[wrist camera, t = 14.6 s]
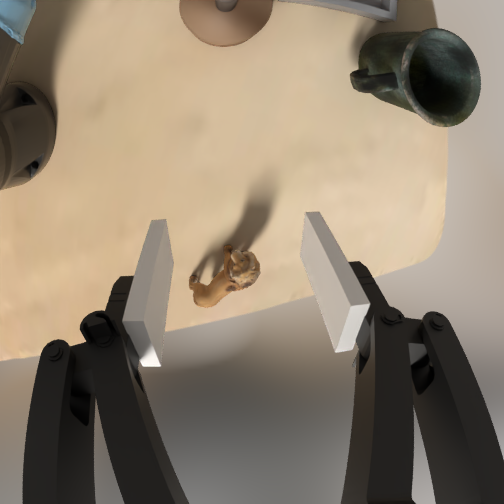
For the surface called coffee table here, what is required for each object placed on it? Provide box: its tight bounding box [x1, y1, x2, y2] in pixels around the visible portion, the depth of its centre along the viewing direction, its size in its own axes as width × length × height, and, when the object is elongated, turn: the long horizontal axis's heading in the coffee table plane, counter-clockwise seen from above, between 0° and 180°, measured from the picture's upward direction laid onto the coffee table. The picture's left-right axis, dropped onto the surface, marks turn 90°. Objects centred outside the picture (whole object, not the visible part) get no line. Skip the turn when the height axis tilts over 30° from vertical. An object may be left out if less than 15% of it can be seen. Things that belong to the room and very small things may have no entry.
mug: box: [350, 28, 481, 127], centre depth 27 cm, size 11×15×12 cm
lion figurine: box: [189, 245, 260, 308], centre depth 44 cm, size 15×5×9 cm, turn 142°
